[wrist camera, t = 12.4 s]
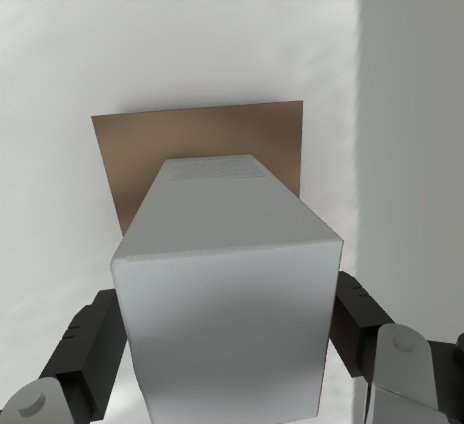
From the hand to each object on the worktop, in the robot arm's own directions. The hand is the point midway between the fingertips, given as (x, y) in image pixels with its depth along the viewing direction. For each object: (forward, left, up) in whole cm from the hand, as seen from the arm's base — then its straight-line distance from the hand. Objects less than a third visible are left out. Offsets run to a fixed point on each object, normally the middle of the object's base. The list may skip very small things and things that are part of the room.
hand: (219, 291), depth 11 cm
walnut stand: (0, 0, -15) cm, 15 cm away
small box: (0, 0, -10) cm, 10 cm away
